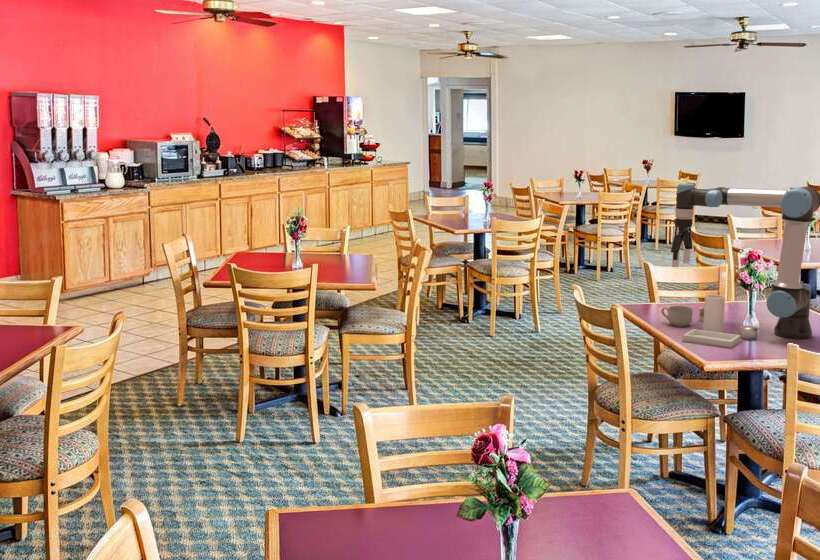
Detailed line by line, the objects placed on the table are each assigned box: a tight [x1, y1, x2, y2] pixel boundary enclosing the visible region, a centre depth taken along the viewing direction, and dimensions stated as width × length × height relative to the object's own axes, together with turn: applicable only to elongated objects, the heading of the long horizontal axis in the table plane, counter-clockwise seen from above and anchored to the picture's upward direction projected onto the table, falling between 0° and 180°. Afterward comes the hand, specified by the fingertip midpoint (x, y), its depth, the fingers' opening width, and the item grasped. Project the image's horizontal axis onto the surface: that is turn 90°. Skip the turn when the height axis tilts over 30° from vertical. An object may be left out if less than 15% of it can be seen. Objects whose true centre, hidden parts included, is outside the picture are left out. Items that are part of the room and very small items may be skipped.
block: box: [698, 306, 704, 323], centre depth 431 cm, size 5×5×6 cm
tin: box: [739, 325, 759, 341], centre depth 397 cm, size 7×7×5 cm
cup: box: [702, 294, 726, 333], centre depth 407 cm, size 8×8×16 cm
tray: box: [682, 328, 742, 349], centre depth 391 cm, size 20×14×3 cm
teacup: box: [660, 305, 694, 328], centre depth 422 cm, size 14×11×8 cm
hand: (680, 265), depth 419 cm, fingers open, 13 cm apart
